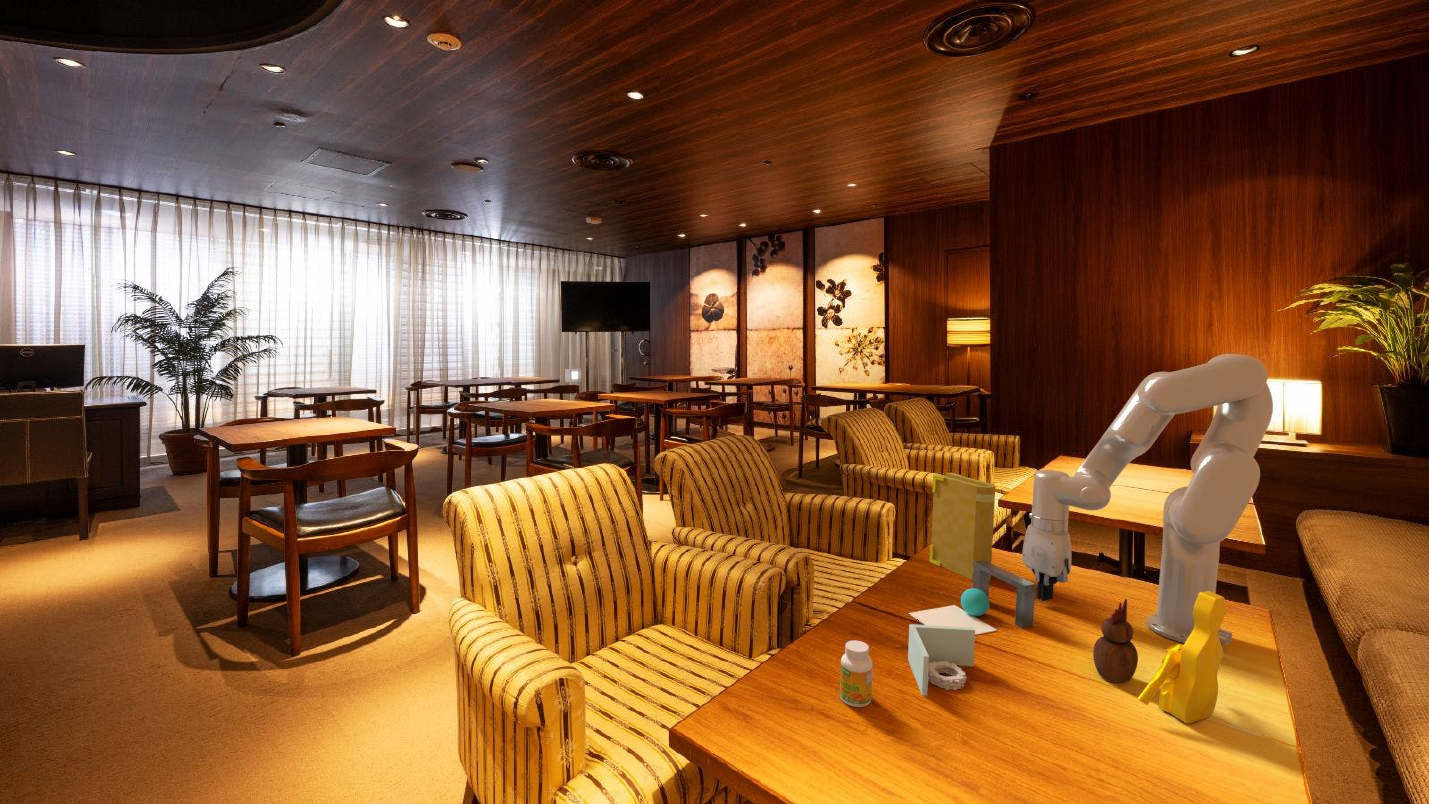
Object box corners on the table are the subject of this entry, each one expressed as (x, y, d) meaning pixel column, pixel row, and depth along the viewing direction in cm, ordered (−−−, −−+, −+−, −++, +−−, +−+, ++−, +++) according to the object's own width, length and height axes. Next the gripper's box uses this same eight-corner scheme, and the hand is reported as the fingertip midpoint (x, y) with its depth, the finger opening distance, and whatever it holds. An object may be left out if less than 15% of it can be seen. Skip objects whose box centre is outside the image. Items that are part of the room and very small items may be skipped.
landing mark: (996, 630, 131) (997, 630, 131) (947, 640, 126) (947, 639, 126) (954, 605, 143) (954, 605, 143) (908, 613, 139) (908, 613, 139)
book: (929, 561, 171) (933, 474, 169) (947, 558, 174) (951, 472, 172) (977, 583, 156) (982, 488, 154) (996, 579, 159) (1001, 485, 156)
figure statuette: (1195, 691, 109) (1206, 573, 106) (1246, 717, 101) (1259, 590, 99) (1125, 712, 102) (1135, 586, 100) (1173, 741, 95) (1185, 606, 93)
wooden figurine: (1120, 669, 116) (1126, 593, 114) (1142, 686, 110) (1149, 607, 108) (1085, 669, 116) (1091, 594, 114) (1106, 687, 110) (1112, 607, 108)
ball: (999, 600, 136) (981, 589, 135) (987, 624, 136) (969, 613, 134) (980, 591, 142) (962, 580, 140) (968, 614, 141) (950, 603, 140)
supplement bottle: (834, 700, 106) (835, 647, 105) (848, 686, 110) (849, 635, 109) (863, 712, 102) (865, 657, 101) (876, 697, 106) (878, 644, 105)
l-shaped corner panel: (922, 696, 107) (923, 656, 106) (907, 660, 119) (909, 624, 118) (992, 701, 106) (995, 660, 105) (971, 664, 118) (973, 627, 117)
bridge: (981, 598, 147) (983, 560, 146) (1032, 626, 133) (1035, 583, 132) (971, 600, 146) (973, 561, 145) (1022, 628, 132) (1024, 585, 131)
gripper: (1011, 516, 147) (1007, 588, 149) (1065, 535, 133) (1059, 615, 135) (1035, 513, 150) (1030, 584, 152) (1090, 531, 136) (1084, 610, 138)
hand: (1044, 598), depth 143 cm, fingers closed
